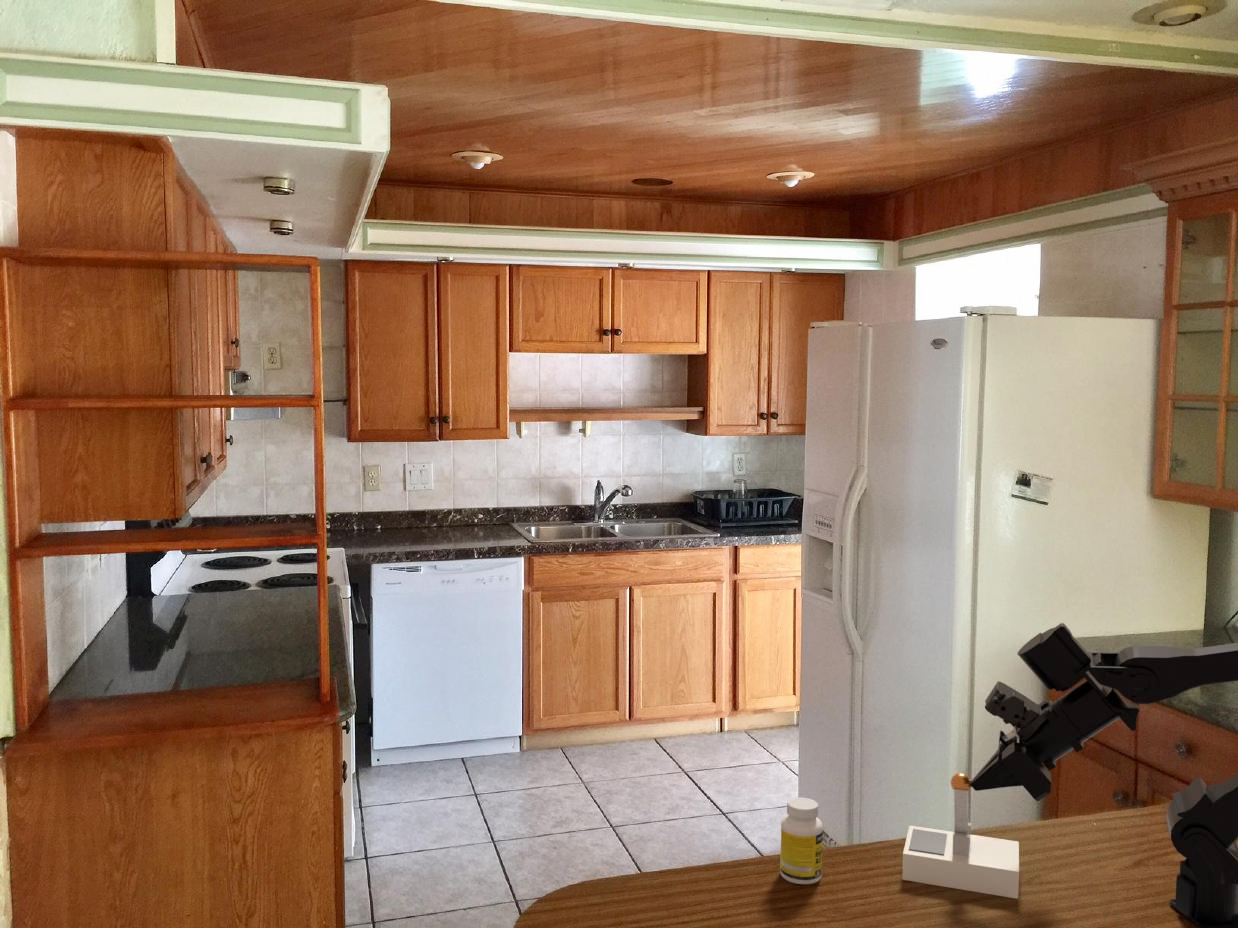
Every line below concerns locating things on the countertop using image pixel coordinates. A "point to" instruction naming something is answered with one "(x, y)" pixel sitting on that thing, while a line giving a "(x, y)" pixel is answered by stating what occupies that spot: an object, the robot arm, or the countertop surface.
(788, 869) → the supplement bottle
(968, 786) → the switch lever
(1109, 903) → the countertop surface
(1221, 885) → the robot arm
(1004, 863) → the switch box
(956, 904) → the countertop surface
